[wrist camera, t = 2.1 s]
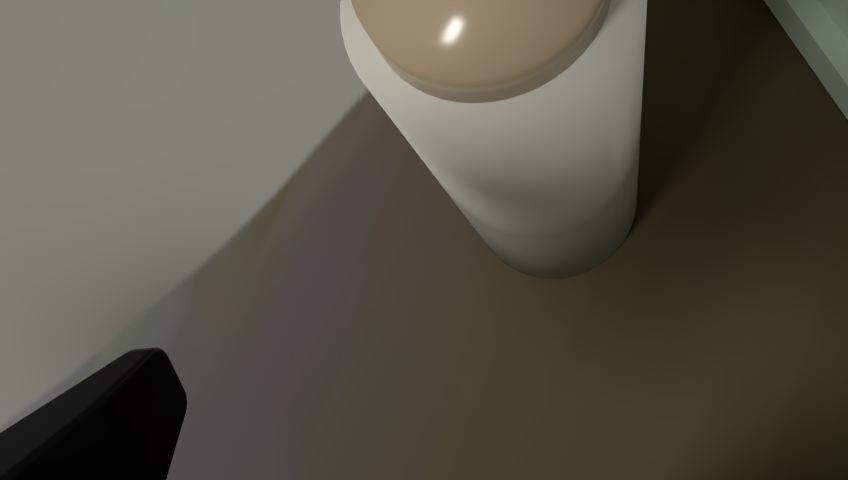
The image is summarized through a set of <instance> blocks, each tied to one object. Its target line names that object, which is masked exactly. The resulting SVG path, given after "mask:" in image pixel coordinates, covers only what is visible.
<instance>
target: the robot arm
mask: <svg viewBox="0 0 848 480" xmlns="http://www.w3.org/2000/svg"><path fill="white" fill-rule="evenodd" d="M186 409H187V397H186V393H185V390H184V388H183V386H182V384H181V382H180V380H179V378H178V376H177V374H176V372H175V370H174V368H173V366H172V364H171V362H170V359H169V357H168V356H167V354H166V353H165V352H164V351H163V350H162V349H159V348H144V349H134V350H131V351H129V352H127V353H125V354H124V355H122V356H120V357H119V358H117V359H116V360H114V361H113V362H111V363H110V364H108V365H106V366H105V367H103V368H102V369H100V370H99V371H97V372H95V373H94V374H92V375H91V376H89V377H88V378H86V379H84V380H83V381H81V382H80V383H78V384H77V385H75V386H73V387H72V388H70V389H69V390H67V391H66V392H64V393H62V394H61V395H59V396H58V397H56V398H55V399H53V400H51V401H50V402H48V403H47V404H45V405H44V406H42V407H40V408H39V409H37V410H36V411H34V412H33V413H31V414H29V415H28V416H26V417H25V418H23V419H22V420H20V421H18V422H17V423H15V424H14V425H12V426H11V427H9V428H8V429H6V430H4V431H3V432H1V433H0V480H166V478H167V475H168V472H169V468H170V465H171V461H172V458H173V454H174V451H175V448H176V444H177V441H178V437H179V434H180V430H181V427H182V423H183V420H184V417H185V413H186Z"/></svg>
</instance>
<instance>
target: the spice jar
mask: <svg viewBox="0 0 848 480" xmlns="http://www.w3.org/2000/svg"><path fill="white" fill-rule="evenodd" d="M646 15H647V0H341V6H340V18H341V30H342V35H343V40H344V45H345V48H346V51H347V54H348V56H349V59H350V61H351V63H352V65H353V67H354V69H355V71H356V73H357V74H358V76H359V78H360V79H361V80H362V82H363V83H364V84H365V86H366V87H367V88H368V89H369V91H370V92H371V93H372V95H373V96H374V97H375V99H376V100H377V101H378V103H379V104H380V105H381V107H382V108H383V109H384V110H385V112H386V113H387V114H388V116H389V117H390V118H391V120H392V121H393V122H394V124H395V125H396V126H397V127H398V129H399V130H400V131H401V133H402V134H403V135H404V137H405V138H406V139H407V141H408V142H409V143H410V144H411V146H412V147H413V148H414V150H415V151H416V152H417V154H418V155H419V156H420V158H421V159H422V160H423V161H424V163H425V164H426V165H427V167H428V168H429V169H430V171H431V172H432V173H433V175H434V176H435V177H436V178H437V180H438V181H439V182H440V184H441V185H442V186H443V188H444V189H445V190H446V192H447V193H448V194H449V195H450V197H451V198H452V199H453V201H454V202H455V203H456V205H457V206H458V207H459V209H460V210H461V211H462V213H463V214H464V215H465V216H466V218H467V219H468V220H469V222H470V223H471V224H472V226H473V227H474V228H475V230H476V231H477V232H478V233H479V235H480V236H481V237H482V239H483V240H484V241H485V243H486V244H487V245H488V247H489V248H490V249H491V250H492V252H493V253H494V254H495V255H496V256H497V257H498V258H499V259H500V260H502V261H503V262H504V263H506V264H507V265H508V266H510V267H512V268H513V269H515V270H517V271H519V272H522V273H524V274H527V275H531V276H535V277H540V278H566V277H571V276H575V275H579V274H582V273H584V272H587V271H589V270H591V269H593V268H595V267H597V266H598V265H600V264H602V263H603V262H604V261H606V260H607V259H608V258H609V257H610V256H611V255H612V254H613V253H614V252H616V251H617V249H618V248H619V247H620V245H621V244H622V243H623V242H624V240H625V238H626V236H627V235H628V233H629V231H630V228H631V226H632V224H633V220H634V216H635V212H636V204H637V186H638V167H639V148H640V129H641V110H642V91H643V72H644V53H645V34H646Z"/></svg>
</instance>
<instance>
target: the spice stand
mask: <svg viewBox="0 0 848 480" xmlns="http://www.w3.org/2000/svg"><path fill="white" fill-rule="evenodd" d="M764 1H765V3H766V4H767V6H768V7H769V9H770V10H771V11H772V13H773V14H774V16H775V17H776V19H777V20H778V21H779V23H780V24H781V26H782V27H783V29H784V30H785V31H786V33H787V34H788V36H789V37H790V38H791V40H792V41H793V43H794V44H795V46H796V47H797V48H798V50H799V51H800V53H801V54H802V56H803V57H804V58H805V60H806V61H807V63H808V64H809V66H810V67H811V68H812V70H813V71H814V73H815V74H816V76H817V77H818V78H819V80H820V81H821V83H822V84H823V86H824V87H825V88H826V90H827V91H828V93H829V94H830V95H831V97H832V98H833V100H834V101H835V103H836V104H837V105H838V107H839V108H840V110H841V111H842V113H843V114H844V115H845V117H846V118H847V120H848V0H764Z"/></svg>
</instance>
